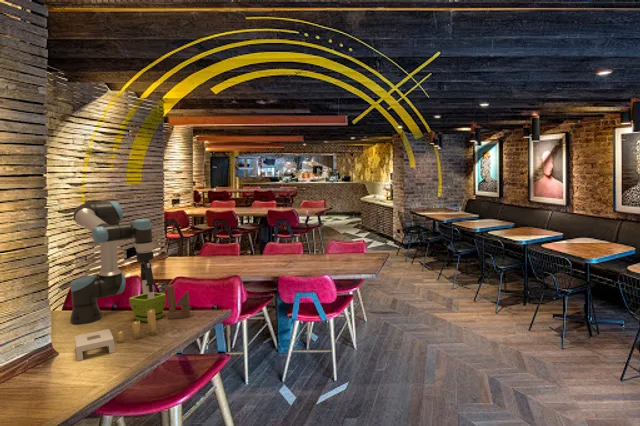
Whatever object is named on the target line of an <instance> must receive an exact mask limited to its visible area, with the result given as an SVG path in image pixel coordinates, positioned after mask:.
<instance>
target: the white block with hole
mask: <svg viewBox="0 0 640 426" xmlns="http://www.w3.org/2000/svg"><path fill="white" fill-rule="evenodd" d="M74 343H75V351H76V352H75V353H76V358H77V359H76V360H77V362H79V361H83V360H84V353H83V352H86V351H90V350H94V349H100V348H103V347H106V348H107V350H108V352H109V354H114V353H115V352H116V351H115V340H114V336H113V334H112V332H111V330H110V328H108V329H101V330H98V331H93V332H88V333H83V334H79V335H74Z"/></svg>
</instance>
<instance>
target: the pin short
mask: <svg viewBox="0 0 640 426" xmlns="http://www.w3.org/2000/svg"><path fill="white" fill-rule="evenodd" d="M115 337H116V343H117V344H123V342H124V343H125V342H126V334H125V329H120V330H116V331H115Z"/></svg>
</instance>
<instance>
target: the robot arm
mask: <svg viewBox="0 0 640 426" xmlns="http://www.w3.org/2000/svg"><path fill="white" fill-rule="evenodd" d="M72 218H73V221H74V222H75V223H76V224H77V225H79V226H80V227H84V228H86V229H87V230H89V232H91V237H92V241H93V242H94V243H97V244H98V243H99V251H100V255H99V256H100V270H99V272H98V273H97V274H98V276H97V277H96V276H95V275H84V276H81V277H78V278H76V279H74V280H72V281H71V283H70V292H71V304H72V310H71V314H70V318H69V321H70V324H71V323H72V324H71V325H84V324H85V325H86V324H89V323H94V322H96V321H99V320H101V319H102V317H103V313H102V311H101V309H100V307H99V305H98V301H97V300H98V299H101V298H107V297H110V296H111V297H112V296H116V295H119V294H120V295H121V294H122V293H124V291H125V288H126V284H127V283H126V276H125V274H124V273H123V272H122V270H120V269H119V259H118V241H124V240H132V239H134V242H135V244H134V249H135V251H136V252H135V253H136V255H135V257H136V261H137V262H140V279H141V285H142V286H141V287H142V294H145V293H148V299H154V292H155V288H154V284H155V281H154V280H155V279H154V273H153V269H152V268H153V267H152V263H151V262H150V261H153V260H154V258H155V255H154V251H153V250H154V243H153V233H152V231H153V230H152V223H151V219H149V218H138V219H134V220H133V222H127V223H121V224H120V222H122V221H123V219H124V212H123V208H122V206H121V204H120V203H119V202H118V201H116V200H102V201H101V200H100V201H93V202H91V201H88V202H84V203H82V204H80V205H78V206H77V207H76V208H75V210H74V211H73V217H72Z"/></svg>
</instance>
